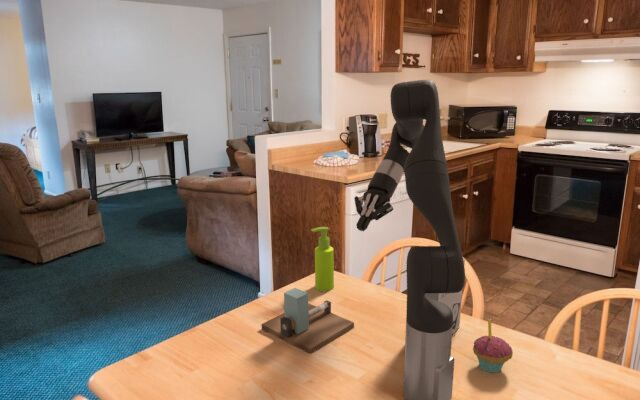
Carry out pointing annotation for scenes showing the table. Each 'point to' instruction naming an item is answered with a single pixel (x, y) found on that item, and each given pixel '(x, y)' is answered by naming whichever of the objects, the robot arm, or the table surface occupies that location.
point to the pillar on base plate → (310, 328)
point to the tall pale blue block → (297, 308)
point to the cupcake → (492, 351)
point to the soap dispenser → (324, 262)
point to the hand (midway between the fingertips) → (360, 229)
